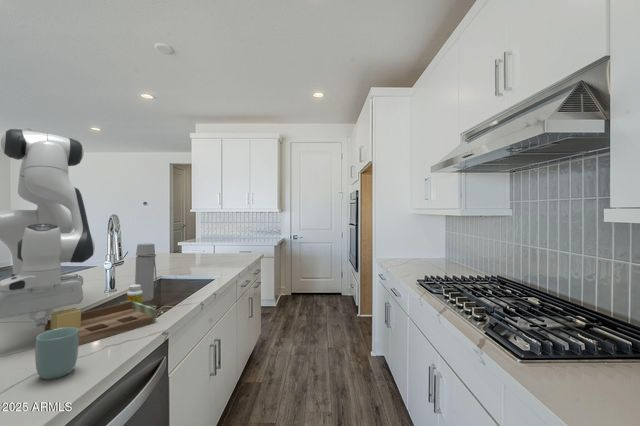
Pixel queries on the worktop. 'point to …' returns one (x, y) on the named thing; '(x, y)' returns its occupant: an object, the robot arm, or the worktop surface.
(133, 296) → the supplement bottle
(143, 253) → the water bottle
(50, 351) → the cup
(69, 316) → the block
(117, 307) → the box
